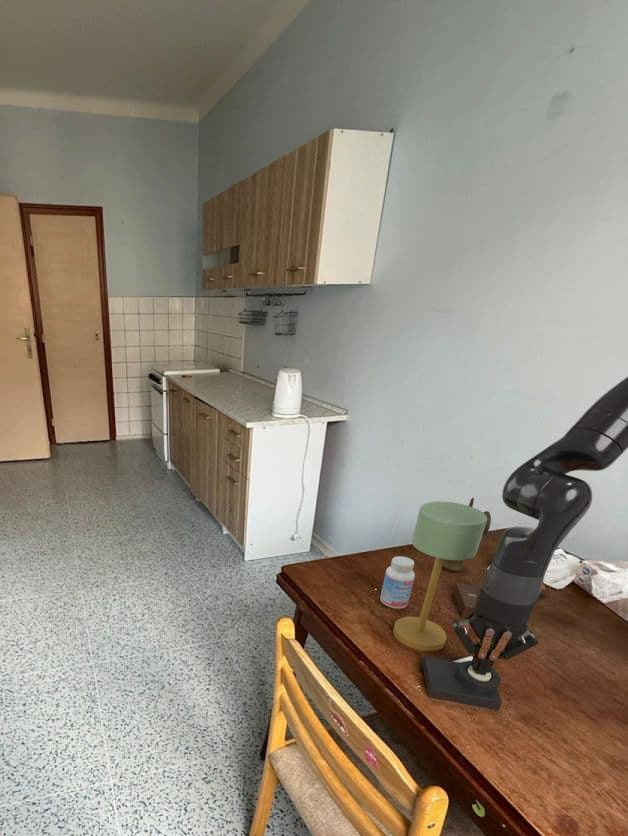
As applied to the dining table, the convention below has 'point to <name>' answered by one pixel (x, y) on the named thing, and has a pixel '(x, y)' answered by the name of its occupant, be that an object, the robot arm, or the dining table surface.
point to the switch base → (460, 684)
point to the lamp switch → (478, 675)
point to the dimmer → (466, 598)
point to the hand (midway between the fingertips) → (478, 671)
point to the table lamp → (440, 562)
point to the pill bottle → (398, 583)
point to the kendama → (457, 564)
